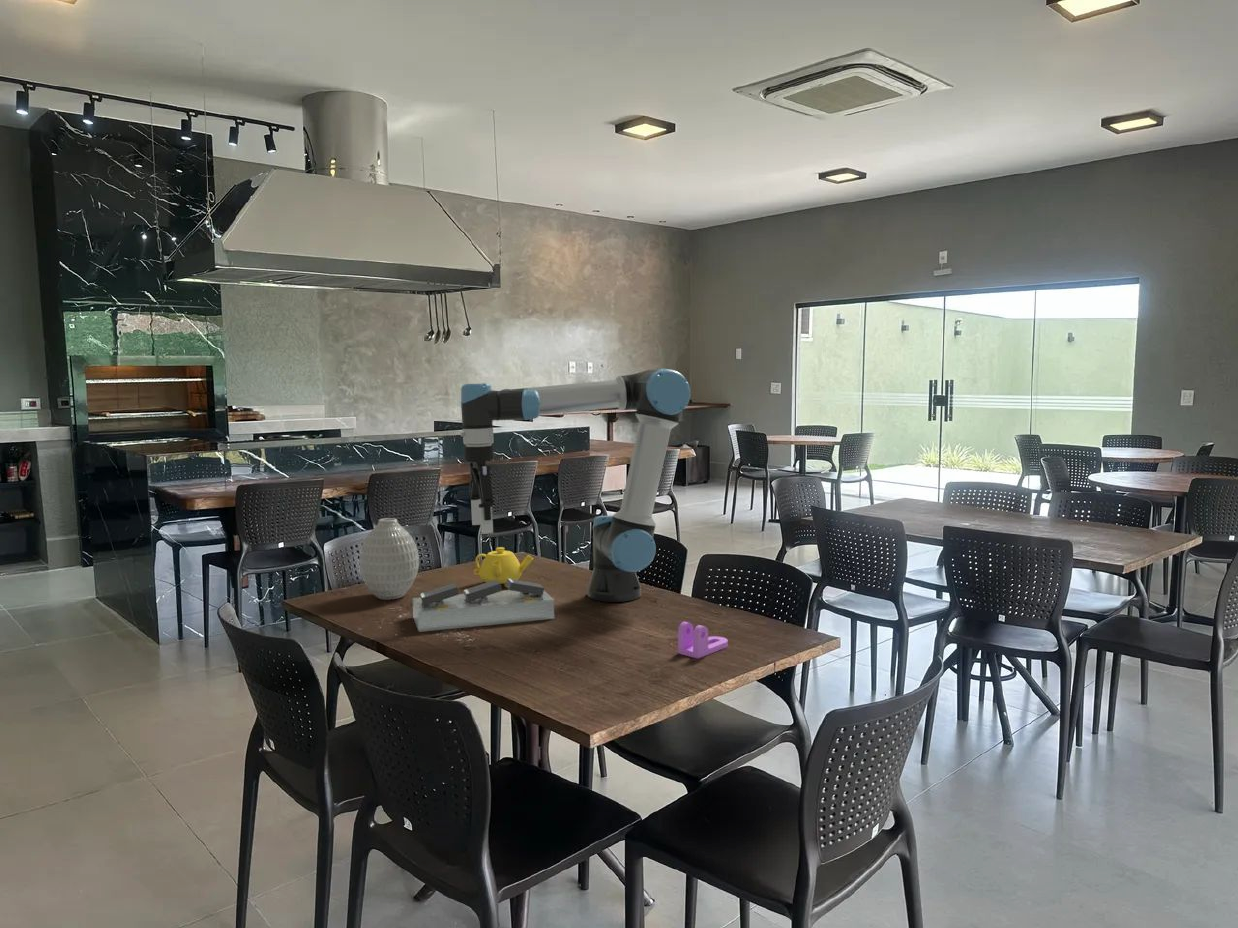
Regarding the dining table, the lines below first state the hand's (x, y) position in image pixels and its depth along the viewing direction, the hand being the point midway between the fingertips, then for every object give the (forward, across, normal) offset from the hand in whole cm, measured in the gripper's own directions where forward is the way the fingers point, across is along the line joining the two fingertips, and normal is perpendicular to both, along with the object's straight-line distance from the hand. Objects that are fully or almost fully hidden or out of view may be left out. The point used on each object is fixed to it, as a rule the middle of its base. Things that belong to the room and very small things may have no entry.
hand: (482, 528), depth 217 cm
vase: (+23, -33, -21) cm, 45 cm away
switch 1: (+16, -2, -11) cm, 20 cm away
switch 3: (+16, -2, +11) cm, 20 cm away
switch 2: (+16, -2, 0) cm, 16 cm away
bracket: (+25, +42, +42) cm, 64 cm away
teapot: (+24, -36, +12) cm, 44 cm away
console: (+24, -2, 0) cm, 24 cm away
